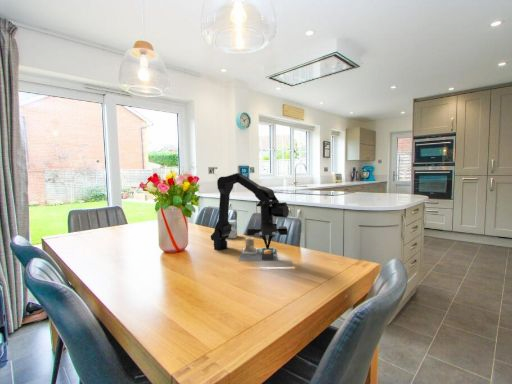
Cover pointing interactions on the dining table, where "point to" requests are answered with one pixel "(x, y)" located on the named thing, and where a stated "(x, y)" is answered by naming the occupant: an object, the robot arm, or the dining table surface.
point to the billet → (249, 244)
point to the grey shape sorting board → (258, 255)
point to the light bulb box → (233, 229)
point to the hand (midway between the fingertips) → (267, 248)
